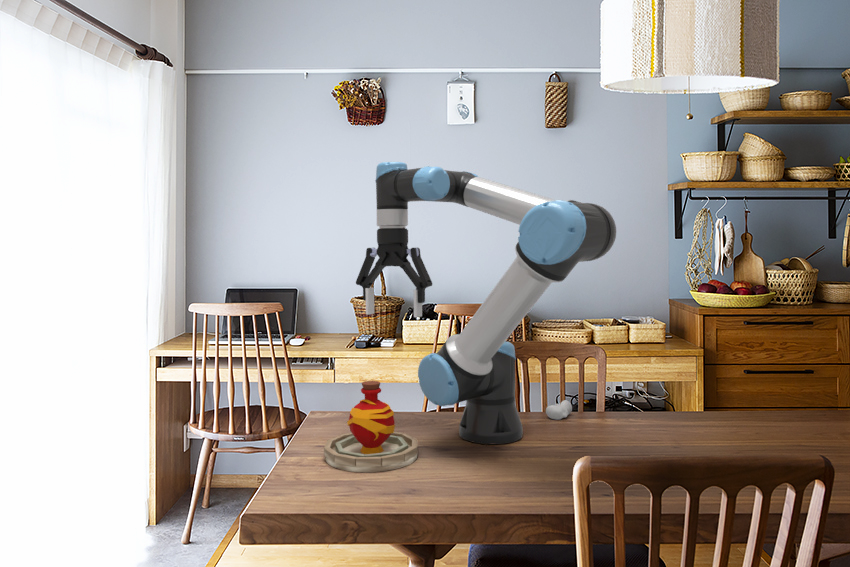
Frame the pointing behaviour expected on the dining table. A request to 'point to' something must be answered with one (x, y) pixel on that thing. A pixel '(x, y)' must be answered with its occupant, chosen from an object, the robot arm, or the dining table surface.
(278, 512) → the dining table surface
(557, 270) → the robot arm
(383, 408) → the potion bottle
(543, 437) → the dining table surface
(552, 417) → the pale two-lobed sculpture
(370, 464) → the tray
